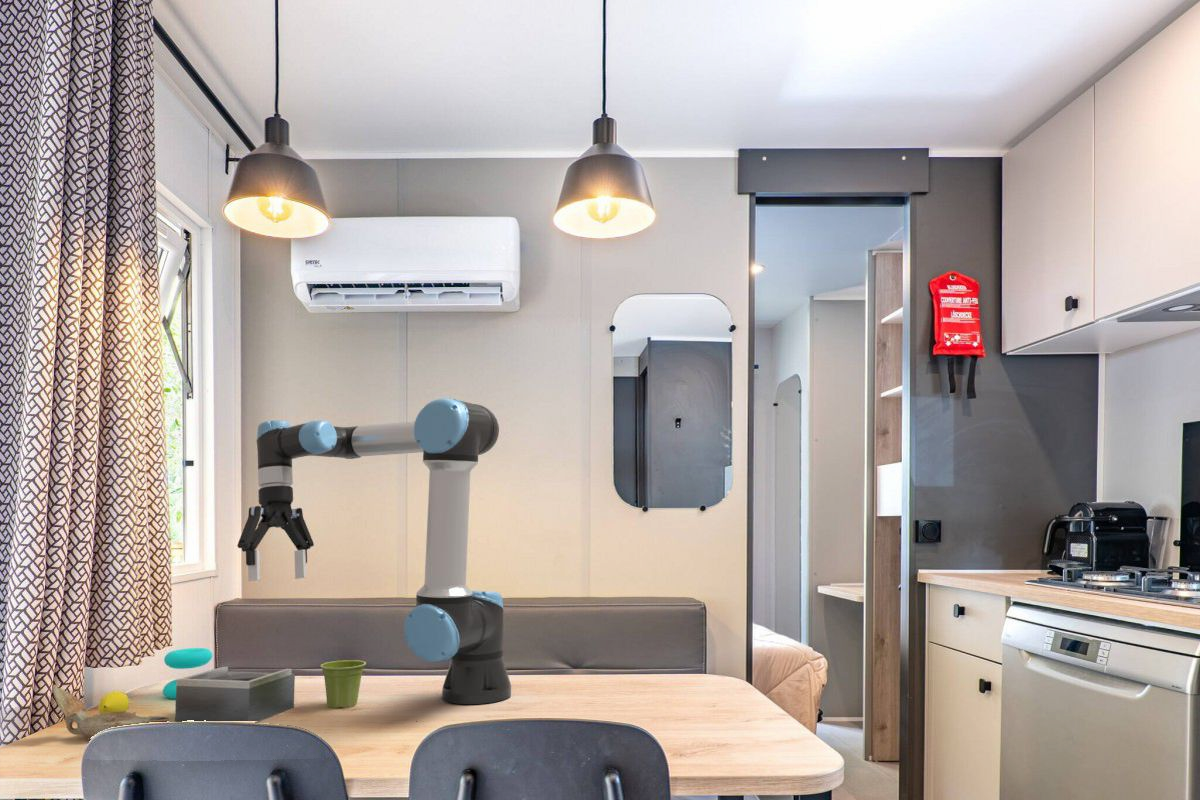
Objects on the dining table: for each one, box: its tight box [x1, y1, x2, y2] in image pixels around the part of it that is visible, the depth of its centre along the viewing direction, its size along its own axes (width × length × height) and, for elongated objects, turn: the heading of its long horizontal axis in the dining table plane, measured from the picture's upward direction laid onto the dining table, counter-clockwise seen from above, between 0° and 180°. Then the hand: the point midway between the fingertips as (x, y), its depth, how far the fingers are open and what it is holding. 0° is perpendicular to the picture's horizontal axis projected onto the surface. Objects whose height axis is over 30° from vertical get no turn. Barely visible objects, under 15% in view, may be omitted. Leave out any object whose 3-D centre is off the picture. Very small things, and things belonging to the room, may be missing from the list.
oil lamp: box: [52, 684, 171, 740], centre depth 157 cm, size 9×21×10 cm, turn 95°
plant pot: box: [320, 659, 367, 709], centre depth 178 cm, size 9×9×9 cm
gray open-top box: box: [174, 666, 296, 722], centre depth 173 cm, size 20×15×8 cm
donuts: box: [162, 647, 213, 700], centre depth 192 cm, size 10×10×10 cm
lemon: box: [97, 690, 130, 714], centre depth 171 cm, size 7×5×5 cm
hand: (278, 579), depth 189 cm, fingers open, 13 cm apart
